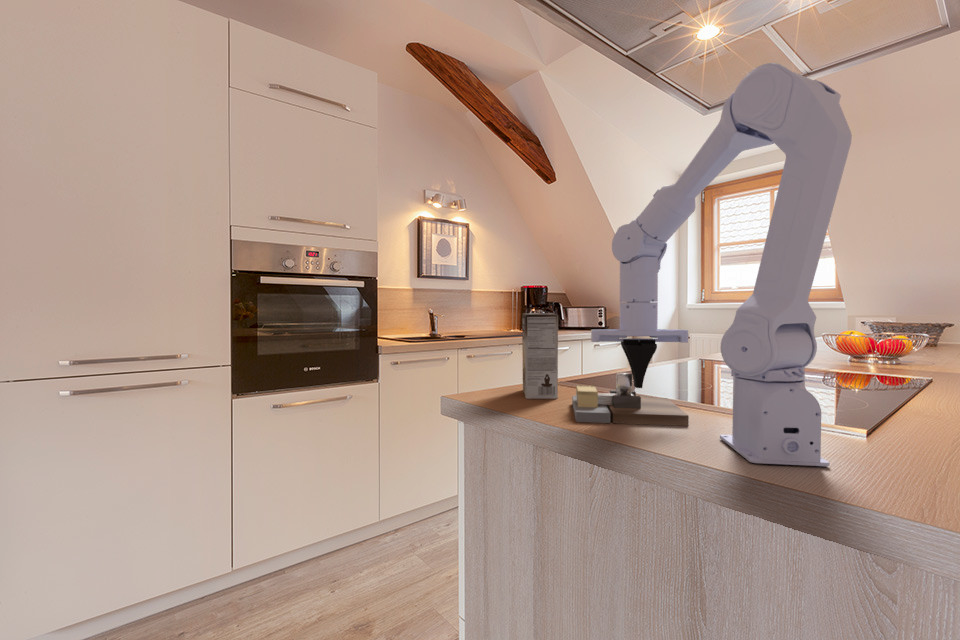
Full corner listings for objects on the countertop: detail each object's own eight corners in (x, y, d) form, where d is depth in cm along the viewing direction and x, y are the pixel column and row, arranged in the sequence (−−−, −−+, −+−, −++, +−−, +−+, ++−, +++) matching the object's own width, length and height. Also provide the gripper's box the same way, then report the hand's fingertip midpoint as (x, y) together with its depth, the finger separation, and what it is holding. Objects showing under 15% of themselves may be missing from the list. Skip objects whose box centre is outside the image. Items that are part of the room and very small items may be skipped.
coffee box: (521, 389, 92) (521, 312, 92) (552, 389, 92) (552, 312, 91) (525, 399, 83) (524, 313, 82) (559, 399, 83) (559, 313, 82)
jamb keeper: (610, 423, 66) (610, 396, 66) (576, 421, 67) (576, 395, 67) (601, 404, 78) (601, 382, 78) (572, 404, 79) (572, 381, 79)
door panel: (688, 425, 64) (688, 403, 64) (613, 423, 66) (613, 401, 66) (667, 406, 76) (667, 387, 76) (603, 404, 78) (603, 386, 78)
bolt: (634, 405, 70) (635, 375, 70) (576, 404, 71) (577, 374, 71) (632, 402, 72) (632, 372, 72) (576, 401, 74) (576, 371, 74)
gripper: (679, 302, 73) (678, 383, 74) (589, 302, 76) (589, 381, 76) (692, 301, 66) (691, 391, 67) (593, 302, 69) (593, 389, 69)
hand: (637, 387), depth 71 cm, fingers closed
